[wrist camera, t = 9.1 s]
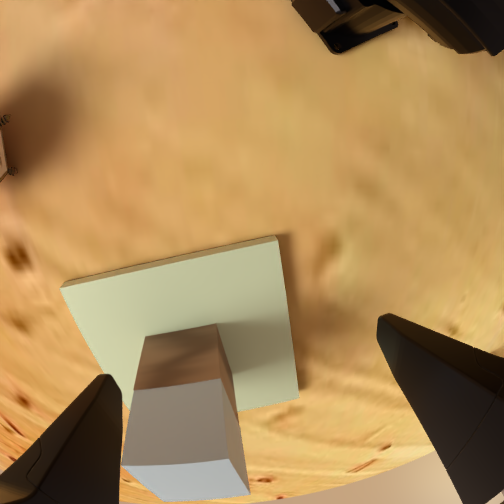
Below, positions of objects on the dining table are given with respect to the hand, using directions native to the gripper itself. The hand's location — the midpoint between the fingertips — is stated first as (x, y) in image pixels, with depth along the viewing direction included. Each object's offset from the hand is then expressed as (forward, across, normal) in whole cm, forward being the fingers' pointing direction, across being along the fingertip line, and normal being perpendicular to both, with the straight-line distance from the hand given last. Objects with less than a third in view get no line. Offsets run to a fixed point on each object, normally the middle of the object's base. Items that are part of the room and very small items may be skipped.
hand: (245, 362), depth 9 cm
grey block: (+6, +5, +9) cm, 11 cm away
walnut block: (+11, +5, +9) cm, 15 cm away
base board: (+12, +5, +9) cm, 16 cm away
